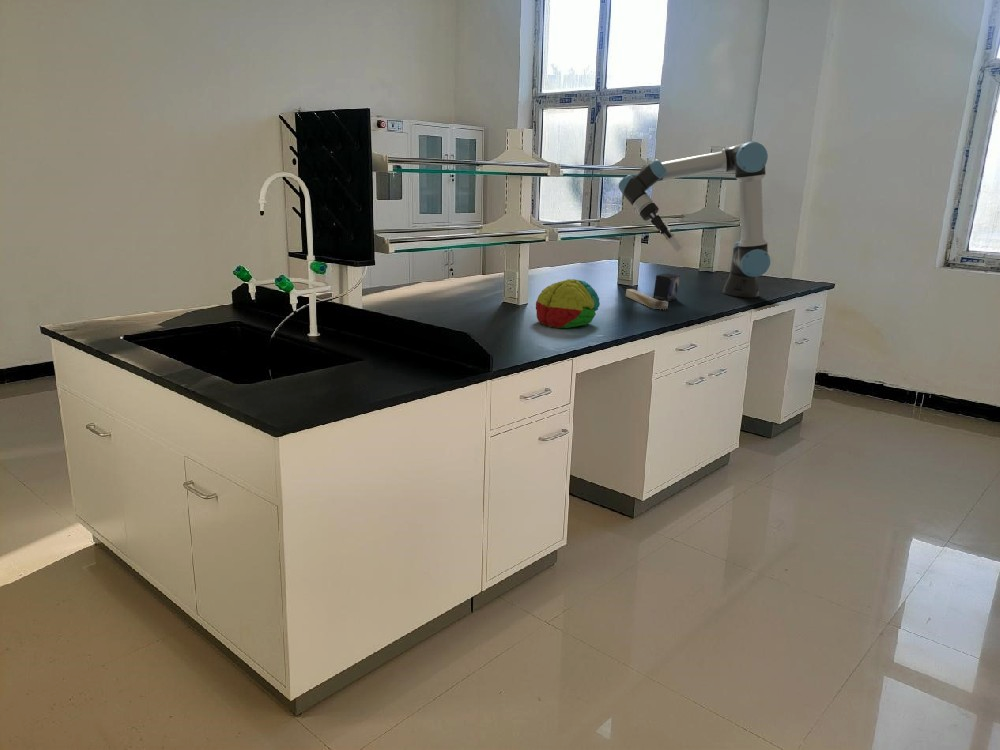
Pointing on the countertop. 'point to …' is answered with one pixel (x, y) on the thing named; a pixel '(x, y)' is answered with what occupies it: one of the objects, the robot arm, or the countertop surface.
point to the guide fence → (646, 299)
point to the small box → (666, 287)
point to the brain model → (567, 304)
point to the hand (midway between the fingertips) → (677, 247)
